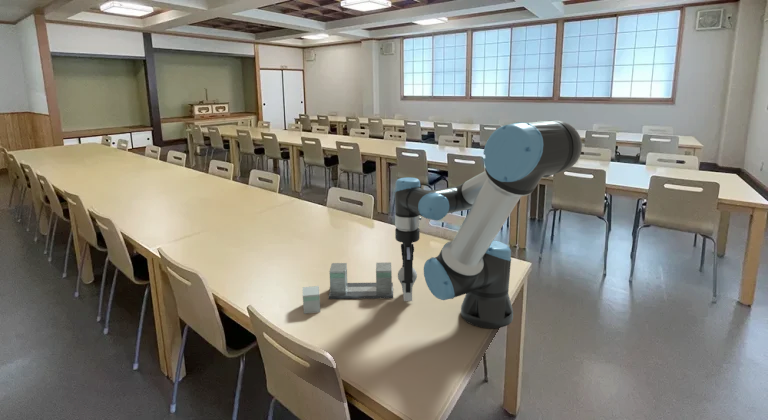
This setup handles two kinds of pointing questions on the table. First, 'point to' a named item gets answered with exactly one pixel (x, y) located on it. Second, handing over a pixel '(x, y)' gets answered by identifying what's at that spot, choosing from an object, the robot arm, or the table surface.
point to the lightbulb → (401, 276)
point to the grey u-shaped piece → (360, 290)
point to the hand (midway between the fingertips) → (407, 295)
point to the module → (311, 299)
